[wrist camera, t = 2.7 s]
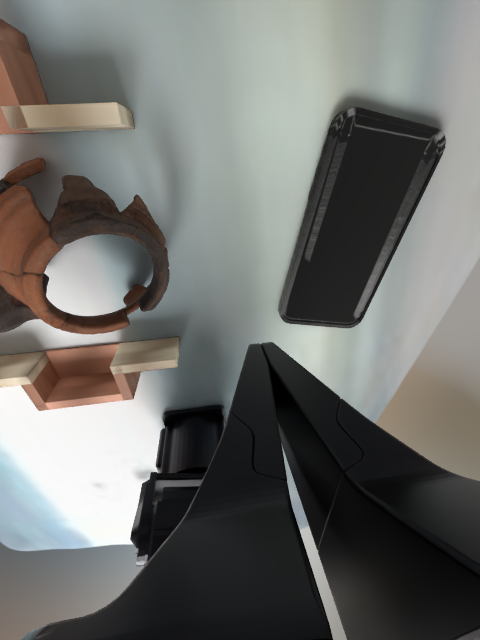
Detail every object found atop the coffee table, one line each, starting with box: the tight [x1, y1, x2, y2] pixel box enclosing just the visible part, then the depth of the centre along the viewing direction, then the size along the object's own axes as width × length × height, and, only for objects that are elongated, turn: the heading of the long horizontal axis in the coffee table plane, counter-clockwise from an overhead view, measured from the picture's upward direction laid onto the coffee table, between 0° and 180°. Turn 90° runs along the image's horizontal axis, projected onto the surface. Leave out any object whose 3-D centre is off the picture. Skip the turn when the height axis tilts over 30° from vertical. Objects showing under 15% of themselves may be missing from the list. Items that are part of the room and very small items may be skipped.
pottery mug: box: [0, 158, 169, 334], centre depth 16 cm, size 12×10×8 cm
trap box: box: [0, 19, 180, 411], centre depth 17 cm, size 18×22×4 cm
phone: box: [278, 107, 446, 328], centre depth 20 cm, size 8×1×15 cm
